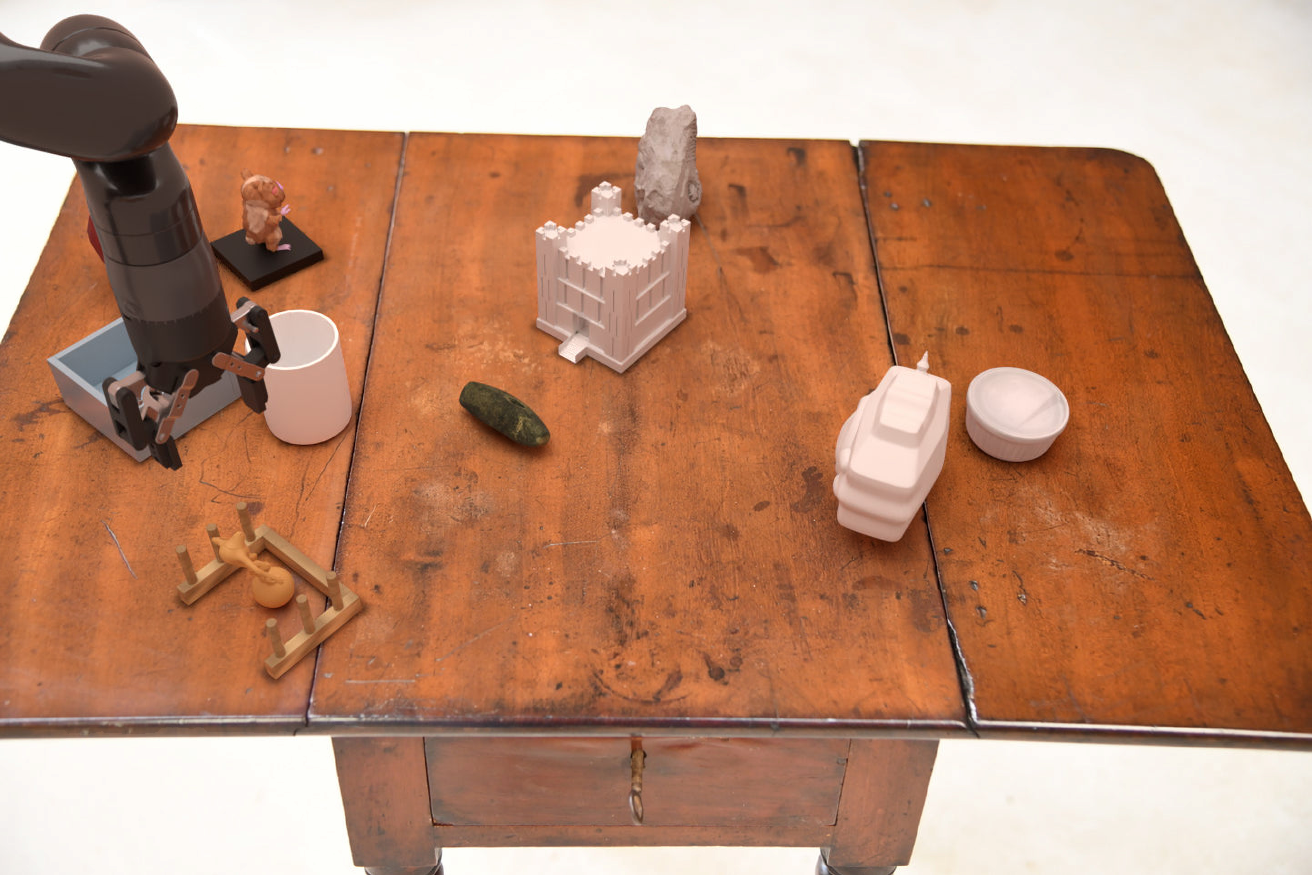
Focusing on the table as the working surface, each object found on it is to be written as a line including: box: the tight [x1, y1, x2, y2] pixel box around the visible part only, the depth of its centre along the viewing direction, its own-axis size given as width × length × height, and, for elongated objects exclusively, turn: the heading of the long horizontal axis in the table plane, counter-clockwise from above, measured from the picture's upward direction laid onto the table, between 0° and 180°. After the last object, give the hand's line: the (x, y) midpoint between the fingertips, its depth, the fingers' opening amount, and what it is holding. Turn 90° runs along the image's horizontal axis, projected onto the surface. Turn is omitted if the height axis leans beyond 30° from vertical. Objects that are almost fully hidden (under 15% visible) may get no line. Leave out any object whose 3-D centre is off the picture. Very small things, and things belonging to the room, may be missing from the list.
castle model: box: [534, 180, 692, 374], centre depth 148 cm, size 13×15×14 cm
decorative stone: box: [458, 380, 551, 448], centre depth 139 cm, size 11×8×5 cm
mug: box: [244, 309, 353, 446], centre depth 137 cm, size 10×12×12 cm
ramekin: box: [965, 366, 1070, 463], centre depth 141 cm, size 11×11×5 cm
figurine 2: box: [212, 530, 296, 609], centre depth 119 cm, size 8×6×12 cm
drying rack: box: [174, 501, 363, 680], centre depth 121 cm, size 11×14×7 cm
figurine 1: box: [209, 167, 325, 292], centre depth 156 cm, size 10×10×12 cm
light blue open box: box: [46, 316, 242, 463], centre depth 139 cm, size 14×14×7 cm
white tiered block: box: [832, 350, 952, 543], centre depth 130 cm, size 11×18×16 cm, turn 158°
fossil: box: [633, 103, 703, 231], centre depth 165 cm, size 16×9×15 cm, turn 172°
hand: (214, 435), depth 106 cm, fingers open, 8 cm apart
